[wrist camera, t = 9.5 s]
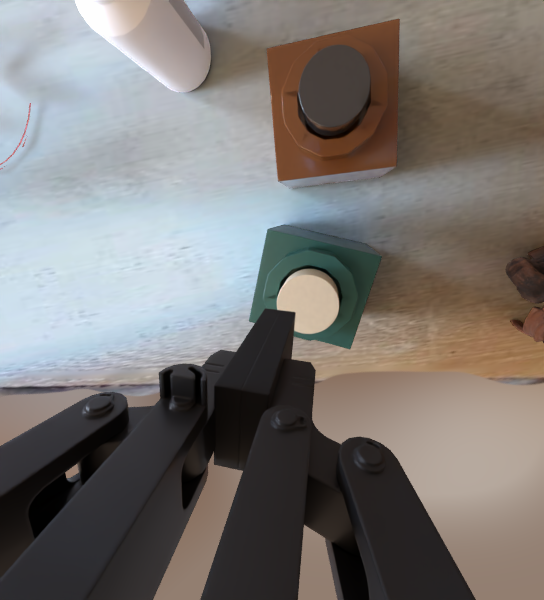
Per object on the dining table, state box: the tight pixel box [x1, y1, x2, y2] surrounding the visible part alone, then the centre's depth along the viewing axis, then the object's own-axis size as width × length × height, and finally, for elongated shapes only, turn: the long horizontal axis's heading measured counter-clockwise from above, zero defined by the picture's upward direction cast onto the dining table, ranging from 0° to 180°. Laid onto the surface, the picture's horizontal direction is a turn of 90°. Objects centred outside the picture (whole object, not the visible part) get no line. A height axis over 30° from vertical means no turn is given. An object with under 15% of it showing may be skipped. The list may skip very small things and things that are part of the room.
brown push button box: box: [267, 19, 400, 188], centre depth 26 cm, size 10×10×10 cm
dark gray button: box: [299, 45, 371, 136], centre depth 21 cm, size 5×5×3 cm
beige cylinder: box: [277, 269, 339, 334], centre depth 23 cm, size 5×5×2 cm
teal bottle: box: [249, 225, 382, 349], centre depth 30 cm, size 10×9×12 cm
